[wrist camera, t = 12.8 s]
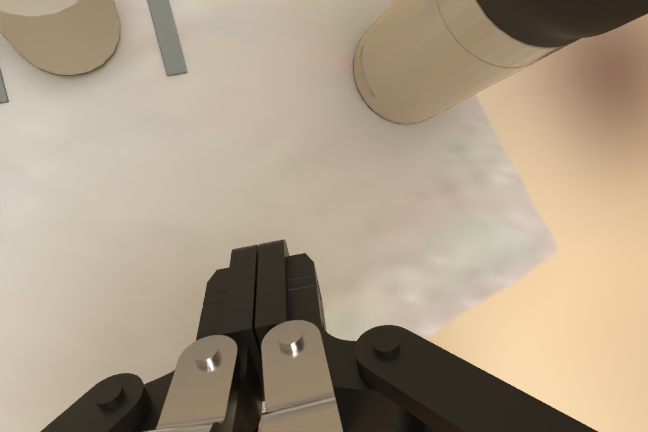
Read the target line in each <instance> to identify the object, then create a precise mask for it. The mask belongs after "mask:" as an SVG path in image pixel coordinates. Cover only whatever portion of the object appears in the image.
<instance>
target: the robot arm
mask: <svg viewBox="0 0 648 432" xmlns="http://www.w3.org/2000/svg"><path fill="white" fill-rule="evenodd" d="M646 14H648V0H394V1H393V2H392V4H391V5H390V6H389V7H388V8H387V9H386V11H385V12H384V13H383V14H382V15H381V16H380V17H379V19H378V20H377V21H376V22H375V23H374V25H373V26H372V27H371V28H370V29H369V31H368V32H367V33H366V34H365V35H364V36H363V38H362V39H361V41H360V43H359V45H358V47H357V49H356V53H355V56H354V68H353V70H354V76H355V82H356V84H357V87H358V90H359V92H360V94H361V96H362V97H363V99H364V101H365V102H366V103H367V104H368V105H369V106H370V108H371V109H372V110H373V111H375V112H376V113H377V114H379V115H380V116H381V117H383V118H385V119H388V120H390V121H392V122H396V123H401V124H413V123H417V122H422V121H424V120H426V119H428V118H430V117H432V116H434V115H436V114H438V113H439V112H441V111H443V110H445V109H447V108H450V107H451V106H453V105H455V104H457V103H459V102H461V101H463V100H465V99H467V98H469V97H471V96H472V95H474V94H476V93H478V92H480V91H482V90H484V89H486V88H488V87H490V86H492V85H493V84H495V83H497V82H499V81H501V80H503V79H505V78H507V77H508V76H511V75H512V74H514V73H516V72H518V71H520V70H522V69H524V68H526V67H528V66H530V65H532V64H533V63H535V62H537V61H539V60H541V59H542V58H544V57H546V56H548V55H550V54H552V53H554V52H556V51H558V50H560V49H562V48H563V47H565V46H567V45H569V44H571V43H573V42H575V41H576V40H579V39H581V38H585V37H592V36H597V35H600V34H603V33H606V32H608V31H611V30H613V29H615V28H618V27H620V26H622V25H624V24H626V23H628V22H631V21H632V20H635V19H637V18H639V17H641V16H643V15H646ZM262 401H265V406H266V412H265V413H262ZM41 432H598V431H596V430H594V429H592V428H590V427H588V426H586V425H585V424H583V423H581V422H579V421H577V420H575V419H573V418H571V417H569V416H568V415H566V414H564V413H562V412H560V411H558V410H557V409H555V408H553V407H551V406H549V405H547V404H545V403H543V402H542V401H540V400H538V399H536V398H534V397H532V396H530V395H528V394H526V393H525V392H523V391H521V390H519V389H517V388H515V387H514V386H511V385H510V384H508V383H506V382H504V381H502V380H500V379H499V378H497V377H495V376H493V375H491V374H489V373H487V372H485V371H484V370H481V369H480V368H478V367H476V366H474V365H472V364H470V363H468V362H467V361H465V360H463V359H461V358H459V357H457V356H455V355H454V354H451V353H450V352H448V351H446V350H444V349H442V348H441V347H439V346H437V345H435V344H433V343H431V342H429V341H427V340H426V339H424V338H422V337H420V336H418V335H416V334H414V333H412V332H411V331H409V330H407V329H405V328H402V327H399V326H394V325H383V326H378V327H374V328H372V329H370V330H368V331H366V332H365V333H363V334H362V335H361V336H360V337H359V339H358V340H357V341H347V340H341V339H338V338H335V337H333V336H331V335H330V334H328V333H327V332H326V325H325V318H324V310H323V303H322V298H321V294H320V289H319V284H318V280H317V275H316V270H315V266H314V262H313V261H312V260H311V259H310V258H309V257H308V256H307V254H306V253H303V254H298V255H292V256H289V253H288V249H287V245H286V242H285V240H279V241H273V242H268V243H263V244H259V245H253V246H247V247H242V248H237V249H233V250H232V253H231V260H230V267H229V268H224V269H219V270H216V272H215V273H214V274H213V276H212V277H211V278H210V280H209V281H208V282H207V287H206V292H205V297H204V302H203V308H202V312H201V318H200V323H199V328H198V333H197V338H196V341H195V342H194V343H192V344H191V345H190V346H188V347H187V348H186V349H185V350H184V351H183V353H182V354H181V356H180V358H179V360H178V363H177V366H176V369H175V370H174V371H173V372H171V373H169V374H167V375H165V376H163V377H160V378H158V379H156V380H154V381H151V382H149V383H147V384H143V382H142V380H141V379H140V377H138V376H137V375H134V374H130V373H122V374H117V375H113V376H111V377H108V378H106V379H104V380H102V381H101V382H99V383H98V384H96V385H95V386H94V387H92V388H91V389H90V390H89V391H88V392H87V393H85V394H84V395H83V396H82V397H81V398H79V399H78V400H77V401H76V402H75V403H74V404H72V405H71V406H70V407H69V408H68V409H67V410H65V411H64V412H63V413H62V414H61V415H60V416H58V417H57V418H56V419H55V420H54V421H52V422H51V423H50V424H49V425H48V426H47V427H45V428H44V429H43V430H42V431H41Z"/></svg>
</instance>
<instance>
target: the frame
mask: <svg viewBox="0 0 648 432" xmlns="http://www.w3.org/2000/svg"><path fill="white" fill-rule="evenodd" d="M148 4H149V8H150V11H151V15H152V19H153V23H154V27H155V31H156V34H157V38H158V42H159V46H160V50H161V54H162V57H163V61H164V65H165V69H166V73H167V76H171V75H178V74H184V73H187V69H186V66H185V62H184V58H183V54H182V50H181V46H180V42H179V39H178V35H177V31H176V27H175V23H174V19H173V16H172V12H171V8H170V4H169V0H148ZM5 102H9V101H8V97H7V93H6V89H5V86H4V82H3V78H2V74H1V71H0V103H5Z"/></svg>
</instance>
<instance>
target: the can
mask: <svg viewBox="0 0 648 432" xmlns="http://www.w3.org/2000/svg"><path fill="white" fill-rule="evenodd" d="M0 32H1V33H2V34H3V35H4V37H5V38H6V39H7V40H8V41H9V42H10V44H11V45H12V46H13V47H14V48H15V50H16V51H17V52H18V53H19V54H20V55H21V56H22V57H23V58H25V59H26V60H27V61H28V62H30V63H31V64H32V65H34V66H35V67H38V68H40V69H43V70H45V71H48V72H50V73H54V74H64V75H74V74H80V73H85V72H89V71H91V70H93V69H94V68H96V67H98V66H100V65H102V64H103V63H104V62H105V61H106V60H107V59H108V58H109V57H110V56H111V55H112V54H113V52H114V50H115V48H116V45H117V43H118V41H119V36H120V21H119V17H118V14H117V10H116V6H115V3H114V0H0Z"/></svg>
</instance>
